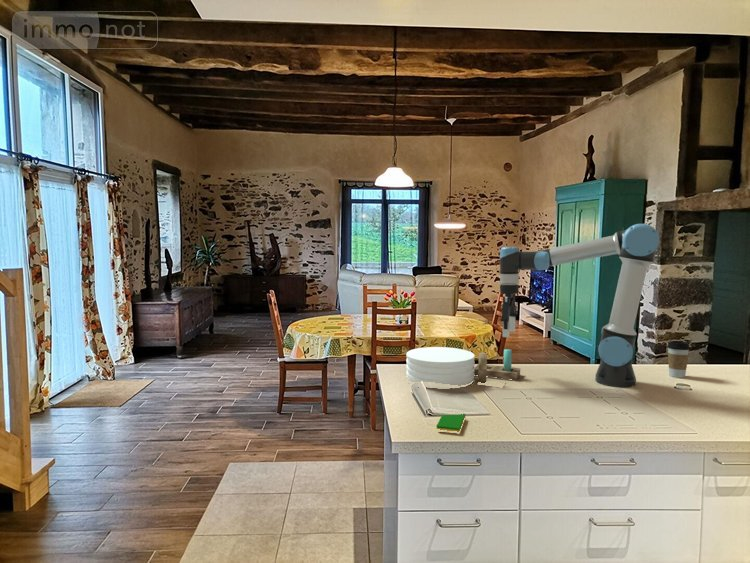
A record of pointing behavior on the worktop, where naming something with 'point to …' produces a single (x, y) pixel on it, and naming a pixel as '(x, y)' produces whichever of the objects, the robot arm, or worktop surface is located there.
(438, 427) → the dish sponge
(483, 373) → the oak dowel
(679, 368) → the coffee cup
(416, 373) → the plate stack
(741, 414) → the worktop surface
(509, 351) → the teal dowel
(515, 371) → the walnut block
